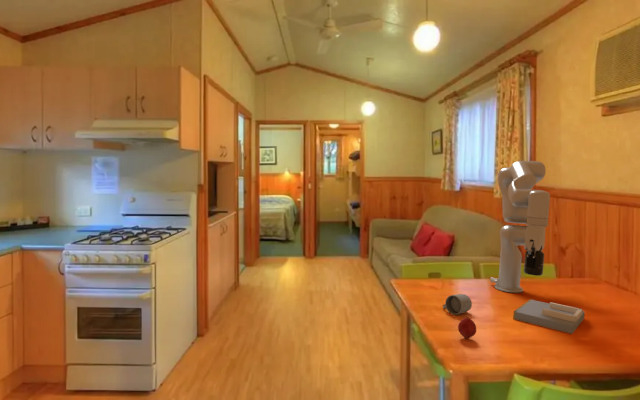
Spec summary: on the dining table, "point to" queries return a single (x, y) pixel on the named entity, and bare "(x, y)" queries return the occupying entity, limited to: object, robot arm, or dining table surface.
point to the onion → (467, 328)
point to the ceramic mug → (458, 304)
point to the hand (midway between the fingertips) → (533, 265)
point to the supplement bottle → (539, 264)
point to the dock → (550, 315)
